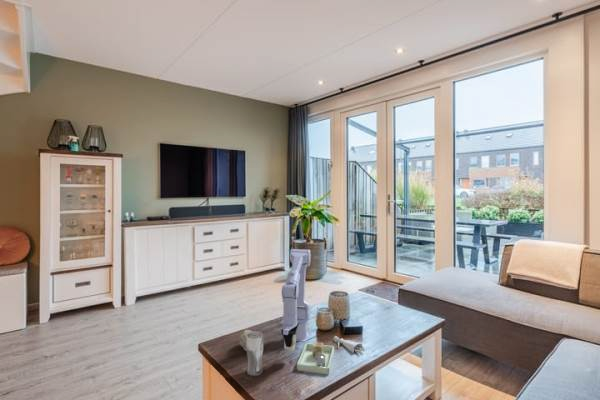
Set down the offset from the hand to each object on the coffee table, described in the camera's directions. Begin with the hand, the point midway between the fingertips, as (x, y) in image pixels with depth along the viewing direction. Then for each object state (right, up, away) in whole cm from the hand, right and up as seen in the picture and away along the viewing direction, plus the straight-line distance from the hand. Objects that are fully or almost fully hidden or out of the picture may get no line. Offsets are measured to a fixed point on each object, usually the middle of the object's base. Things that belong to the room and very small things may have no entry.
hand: (290, 343), depth 133 cm
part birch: (0, -2, 0) cm, 2 cm away
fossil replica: (-19, -8, +12) cm, 24 cm away
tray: (+11, -8, +1) cm, 14 cm away
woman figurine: (+27, -8, +13) cm, 31 cm away
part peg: (+13, -8, -5) cm, 16 cm away
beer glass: (-14, -8, -7) cm, 18 cm away
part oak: (+12, -7, +4) cm, 15 cm away
